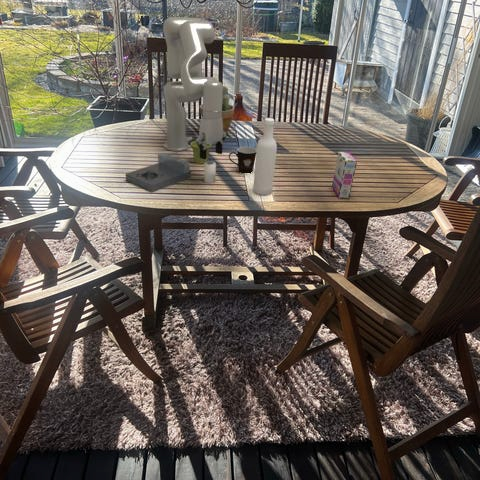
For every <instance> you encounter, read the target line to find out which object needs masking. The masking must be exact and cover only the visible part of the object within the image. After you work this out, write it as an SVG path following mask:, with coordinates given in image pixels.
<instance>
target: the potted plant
mask: <svg viewBox="0 0 480 480" xmlns="http://www.w3.org/2000/svg"><path fill="white" fill-rule="evenodd" d="M228 93H229V89H228V87H227V86H224V85H223V92H222V122H223V131H225V132H226V136H227V134H228V132H229V129H230V126H231V124H232V120H233V117H234V114H235V113H234V112H235V106H234V105H232V104H229V103H230V99H231V98H230V95H229V94H228ZM199 113H200V114H199V115H200V116H201V118H203V103H202V104H200V105H199Z"/></svg>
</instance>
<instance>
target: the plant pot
mask: <svg viewBox="0 0 480 480" xmlns="http://www.w3.org/2000/svg"><path fill="white" fill-rule="evenodd" d="M205 142H206V141H205ZM204 145H205V144H203V146H204ZM190 146H191V148H192V153H193V162H194V163H196V164H199V165H204V163H205V162H208V159H209V154H210V150H211V146H212V144H208V145H207V147H206V149H205V150H207V158H206V159H202V158H200V149H199V147H198V146H197V143H196V140H194V141H192V142H190Z"/></svg>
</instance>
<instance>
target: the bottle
mask: <svg viewBox="0 0 480 480" xmlns="http://www.w3.org/2000/svg"><path fill="white" fill-rule="evenodd" d="M274 127H275V119H274V118H273V117H272V118H271V117H266V118H265V119H264V122H263V135H262V137H261V138H259V140H258V142H257V145H256V150H257V152H256V157H255V162H254V176H253V186H252V192H254V193H255V194H256V193H257V194H256V195H259V194H260V195H259V196H268V194H269V195H270V194H272V193H273V187H274V185H273V184H274V175H275V168H276V159H277V158H276V157H277V149H278V146H277V145H278V144H277V141H276V139H274Z"/></svg>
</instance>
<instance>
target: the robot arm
mask: <svg viewBox="0 0 480 480" xmlns="http://www.w3.org/2000/svg"><path fill="white" fill-rule="evenodd" d="M162 31H163V35H164V39H165V42H166V43H165V44H166V48H167V49H166V53H167V54H166V56H167V57H166V67H167V75H168V77H169V78H171V79H175V80H177V81H174V80H173V81H169V82H167V83H166V84H165V85H164V88H163V95H164V99H165V110H166V112H165V114H166V117H165V118H166V142H164V143H163V148H164V149H166V150H168V151H173V152H182V151H187V150H188V149H190V144H189V142H190V141H192V140H193V137H192V136H187V111H186V109H185V108H184V106H183V105H182V104H183V103H195V102H199V100H200V99H201V98H202V104H203V118H202V117H201V119H200V123H199V129H198V137H197V138H196V139H195V141H196V143H197V146H198V147H199V149H200V158H202V159H206V158H207V150H205V149H206V147H207V145H208V144H211V145H212V144H214V143H215V153H216V154H218V155H222V154H223V145H224V141H225V140H226V137H227V135H226V132H225V131H223V122H222V92H223V86H224V85H223V83H222V82H220V81H219V80H218V79H217V78H216V77H214V76H213V77H212V76H207V77H206V76H203V67H202V63H203V62H204V61H206V60H207V56H208V52H207V49H206V46H205V44H211V43H213V42H214V40H215V38H216V36H215V35H216V33H215V32H216V31H215V28H214V25H213V24H212V23H211V21H210V20H206V19H204V18H201V17H199V18H198V17H182V16H181V17H177V16H176V17H173V16H171V17H168V18H166V19H165V20H164V22H163V30H162ZM180 80H181V81H180ZM225 136H226V137H225ZM205 141H206V142H205ZM203 144H205V145H204V146H203Z"/></svg>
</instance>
